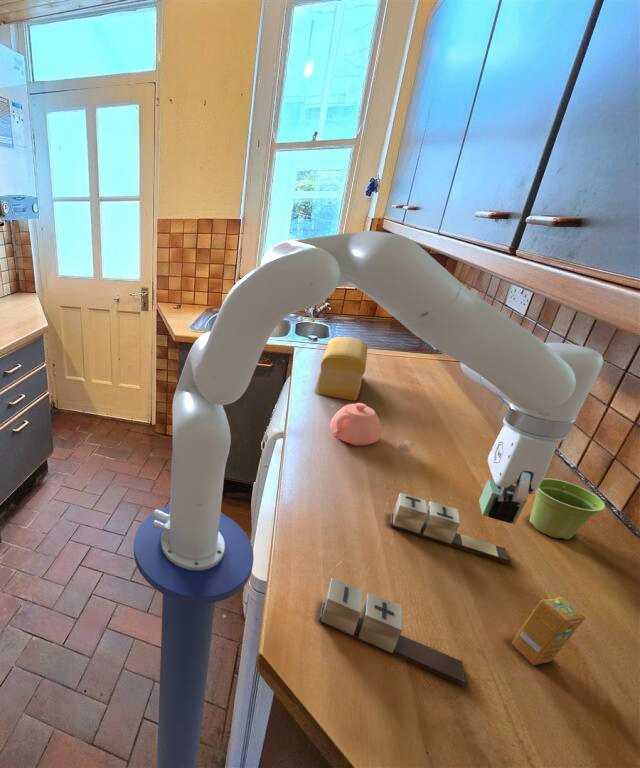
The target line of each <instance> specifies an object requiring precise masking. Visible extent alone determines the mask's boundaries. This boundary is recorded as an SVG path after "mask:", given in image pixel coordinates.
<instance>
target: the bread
mask: <svg viewBox="0 0 640 768" xmlns="http://www.w3.org/2000/svg"><path fill="white" fill-rule="evenodd" d="M368 348H369V347H368V344H367V342H366V341H364V340H362V339H359V338H355V337H351V336H335V337H332V338H331V339H330V340H328V343H327V345H326V348H325V351H324V354H323V356H322V358H321V359H322V360H321V361H320V372H319V375H318V379H317V384H316V394H318V395H321V396H327V397H332V398H338V399H341V400H347V401H353V402H354V401H357V399H358V397H359V394H360V392H361V387H362V381H363V376H364V374H365V372H366V367H367V366H366V365H367V358H368Z"/></svg>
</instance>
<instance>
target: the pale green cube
mask: <svg viewBox="0 0 640 768" xmlns="http://www.w3.org/2000/svg"><path fill="white" fill-rule="evenodd" d="M500 490H501V487H499V486H497V485H496V483H495V482H494V480H491V479H487V481H486V482H485V486H484V488H483V490H482V493H481V494H480V497H479V499H478V503H479V507H480V511H481V515H482V516H483V517H487V518H490V517H489V516H488V512H489V510H490V508H491V505H492V503H493V501H494V499H495V497H497V498H498V496H499V493H500ZM509 493H510V494H514V493H515V491H513V490H509V489H508V490H507V493H506V495H507V494H509ZM525 505H526V503H525V504H522V505H521V507H520V508H519V510H518V512H517V514H516V516H515V518H514V520H513V522H512V523H511V524H512V525H516V523H517V522H518V519H519V517H520V515H521V513H522V511H523V509H524V507H525Z"/></svg>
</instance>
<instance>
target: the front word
mask: <svg viewBox="0 0 640 768" xmlns="http://www.w3.org/2000/svg"><path fill="white" fill-rule="evenodd" d="M363 596H364V590H363V589H361V588H359V587H356V586H353V585H351V584H348V583H347V582H344V581H342V580H339V579H337V578H333V577H331V578H330V581H329V585H328V589H327V593H326V597H325V600H324V601H323V602H322V604H321V609H320V613H319V617H318V622H320V623H321V624H324V625H325V626H328V627H330V628H333V629H334V630H337V631H339V632H342V633H343V634H346V635H348V636H350V637H352V638H354V639H357V640H359V641H361V642H364V643H366V644H368V645H370V646H372V647H374V648H377V649H379V650H381V651H383V652H386V653H388V654H389V655H392V656H394V657H396V658H399V659H401V660H403V661H405V662H407V663H409V664H411V665H414V666H417V667H418V668H420V669H423V670H425V671H427V672H429V673H432V674H434V675H436V676H438V677H440V678H443V679H445V680H447V681H449V682H451V683H453V684H455V685H458V686H459V687H463V686H464V684H465V681H466V680H465V674H464V665H463V661H462V660H460V659H458V658H456V657H452V656H451V655H448V654H447V653H443V652H441V651H439V650H436V649H434V648H431V647H430V646H428V645H425V644H423V643H421V642H418V641H415V640H414V639H411V638H409V637H406V636H404V635H401V634H402V631H403V606H402V605H401V604H399V603H396V602H393V601H391V600H388V599H386V598H384V597H381V596H379V595H376V594H374V593H371V592H369V591H368V592H367V593H366V596H365V600H364V601H363Z"/></svg>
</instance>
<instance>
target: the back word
mask: <svg viewBox="0 0 640 768" xmlns="http://www.w3.org/2000/svg"><path fill="white" fill-rule="evenodd" d="M389 519H390V520H389V527H391V528H394V529H396V530H400V531H403V532H406V533H409V534H412V535H415V536H418V537H421V538H425V539H428V540H430V541H434V542H437V543H440V544H443V545H446V546H449V547H452V548H456V549H459V550H461V551H465V552H468V553H470V554H474V555H477V556H481V557H483V558H486V559H489V560H493V561H495V562H499V563H502V564H505V565H507V564H508V562H509V557H508V553H507V550H506V548H505V547H503V546H499V545H496V544H493V543H491V542H488V541H484V540H481V539H478V538H475V537H472V536H468V535H464V534H463V533H462V534H461V533H457V532H458V530H459V527H460V525H461V521H460V515H459V510H458V508H456V507H451V506H448V505H445V504H441V503H438V502H434V501H432V500H430V501H429V503H428V504H427V500H426V499H423V498H420V497H417V496H413V495H409V494H406V493H403V492H399V494H398V497H397V500H396V503H395V505H394V509H393V511H392V513H391V514H390V518H389Z"/></svg>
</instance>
